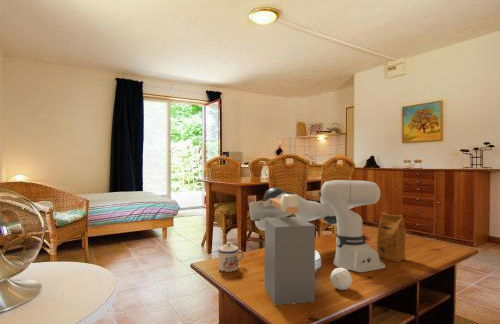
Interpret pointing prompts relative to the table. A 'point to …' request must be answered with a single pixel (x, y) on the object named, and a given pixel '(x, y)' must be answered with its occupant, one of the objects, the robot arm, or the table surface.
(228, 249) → the teacup with lid
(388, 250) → the coffee package
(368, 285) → the table surface
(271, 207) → the robot arm
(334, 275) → the geometric ball
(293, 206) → the wooden handled brush
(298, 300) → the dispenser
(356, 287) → the table surface
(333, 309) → the table surface
